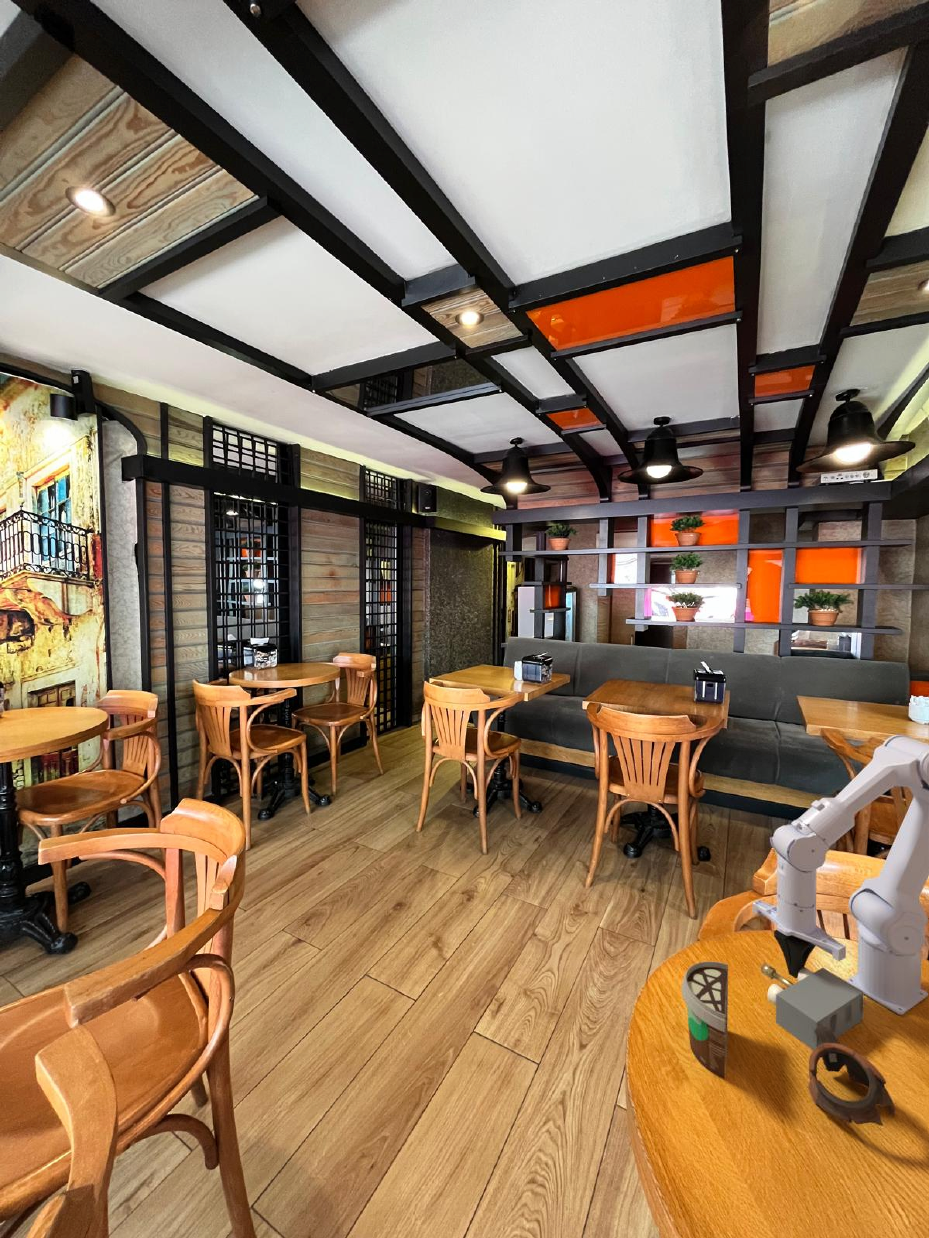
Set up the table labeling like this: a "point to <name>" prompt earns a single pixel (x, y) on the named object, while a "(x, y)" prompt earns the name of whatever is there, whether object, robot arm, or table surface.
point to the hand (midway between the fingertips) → (795, 974)
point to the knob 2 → (804, 973)
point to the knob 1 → (773, 993)
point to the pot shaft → (774, 974)
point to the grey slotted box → (819, 1006)
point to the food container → (708, 1013)
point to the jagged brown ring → (858, 1073)
